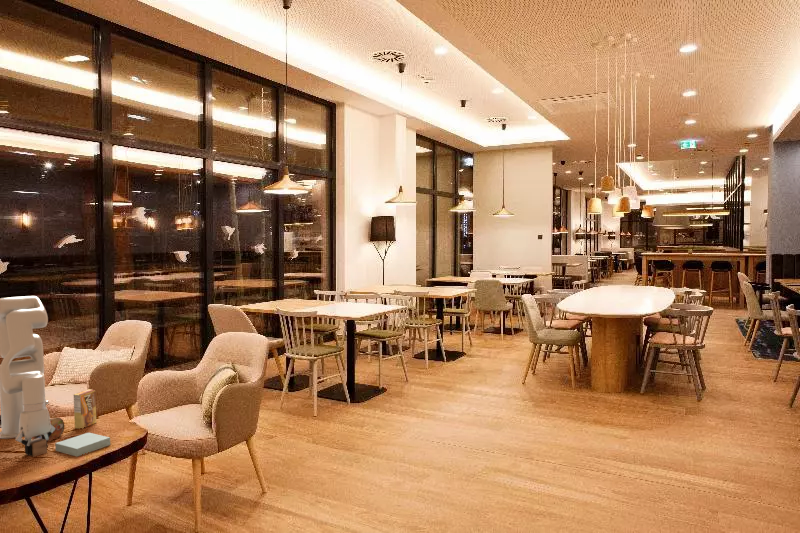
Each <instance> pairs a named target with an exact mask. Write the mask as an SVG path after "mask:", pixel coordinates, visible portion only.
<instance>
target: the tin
mask: <svg viewBox="0 0 800 533" xmlns="http://www.w3.org/2000/svg"><path fill="white" fill-rule="evenodd" d="M50 422H51V425H52V426H53V427H55V430H54V431H53V433H52V434H51V435H50V437H49V439H48V440H47V443H49V442H51V441H53V439H54V440H56V439H58V438H59V437H61V436H62V435H63V434H64V431H65V422H64V420H63V419H62V418H60V417H52V418H50ZM37 438H41V435H39V436H35V437H32V440H34V439H37ZM41 439H42V438H41Z"/></svg>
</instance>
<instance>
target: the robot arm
mask: <svg viewBox="0 0 800 533" xmlns="http://www.w3.org/2000/svg"><path fill="white" fill-rule="evenodd" d="M48 323H49V317H48V313H47V310H46V308H45V306H44V303H42V301H41V300H40V298H39V297H38V296H36V295H25V296H11V297H1V298H0V357H1V358H2V361H1V363H0V420H1V421H0V429H1V431H0V439H3V440H4V439H5V440H7V439H15V441H16V442H19V443H21V444H22V445H23V446H24V453H25V454H26V456H29V457H32V456H31V455H32V445H30V444H31V440H32V437H35V436H39V435H41V438H42V439H45V440H46V442H47V440H48V439H49V437H50V435H51V434H52V433H53V431H54V430H55V427H53V426H52V425H51V422H50V419H51V417H50V412H49V409H48V407H47V405H48V404H49V403H50V402H49V400H46V387H45V386H46V385H45V379H46V378H45V357H44V356H45V355H44V345H43V344H44V343H43V339H42V337H41V336H40V335H39V334H36V333H34V331H33V330H35V329H42V328H46V327H47V325H48ZM23 357H30V358H28V359H22V360H21V359H19V360H14V359H17V358H23ZM23 437H24V438H23ZM48 443H49V442H47V448H48V447H49V446H48Z"/></svg>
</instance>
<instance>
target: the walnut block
mask: <svg viewBox="0 0 800 533" xmlns="http://www.w3.org/2000/svg"><path fill="white" fill-rule="evenodd" d="M47 443H48V442H46V440H45V439H41V438H37V439H34V440H31V444H30V445H32V455H31V456H30V457H36V456H40V455H43V454H46V453H48V447H47Z"/></svg>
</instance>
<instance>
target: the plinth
mask: <svg viewBox="0 0 800 533" xmlns="http://www.w3.org/2000/svg"><path fill="white" fill-rule="evenodd" d="M110 445H111V437H109V436H105V435H102V434H101V435H100V434H97V433H92V432H85V433H83V434H79V435H77V436H74V437H70V438H67V439H64V440H61V441H59V442H55V443H54V446H55V452H59V453H63V454H67V455H70V456H73V457H79V456H83V455H86V454H89V453H91V452H94V451H96V450H100V449H102V448H106V447H109V446H110ZM88 452H89V453H88ZM85 453H86V454H85ZM82 454H83V455H82Z"/></svg>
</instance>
